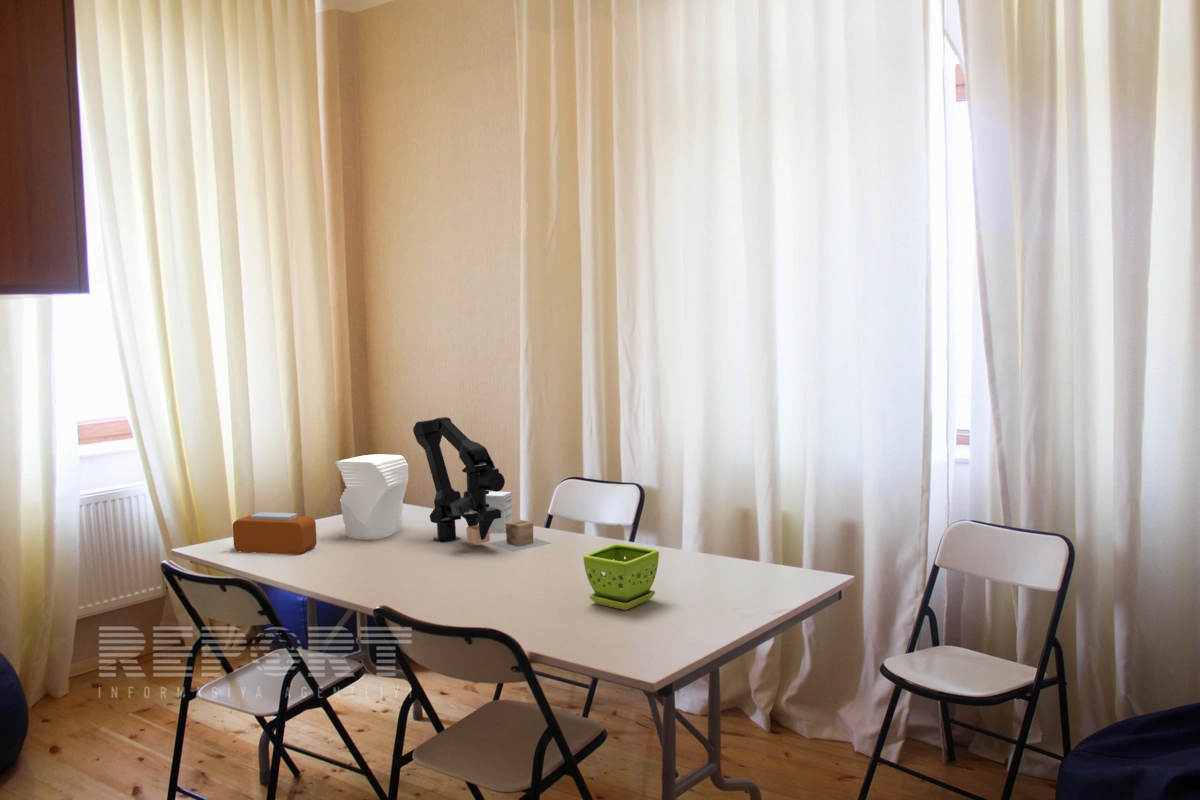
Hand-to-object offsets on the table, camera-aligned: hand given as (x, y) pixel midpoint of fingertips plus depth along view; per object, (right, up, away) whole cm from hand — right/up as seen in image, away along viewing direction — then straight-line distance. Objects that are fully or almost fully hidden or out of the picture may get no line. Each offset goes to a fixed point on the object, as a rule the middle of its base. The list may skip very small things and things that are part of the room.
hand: (478, 537), depth 285 cm
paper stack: (-35, -2, +23) cm, 41 cm away
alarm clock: (-64, -5, +4) cm, 64 cm away
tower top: (+12, +1, +4) cm, 13 cm away
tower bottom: (+12, -2, +4) cm, 13 cm away
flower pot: (+43, -8, -56) cm, 71 cm away
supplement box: (+4, -1, +23) cm, 23 cm away
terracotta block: (0, -1, 0) cm, 1 cm away
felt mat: (+12, -3, +4) cm, 13 cm away
